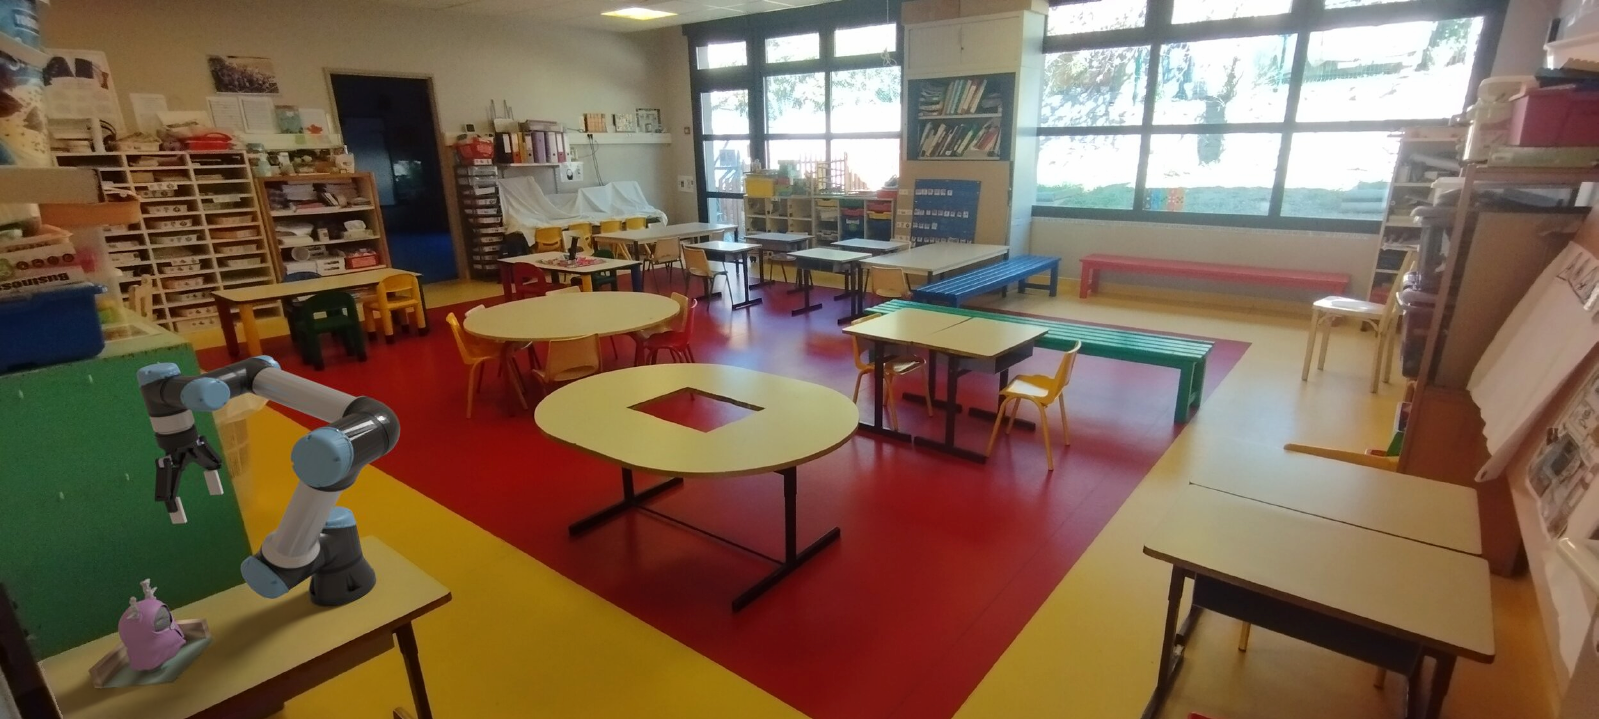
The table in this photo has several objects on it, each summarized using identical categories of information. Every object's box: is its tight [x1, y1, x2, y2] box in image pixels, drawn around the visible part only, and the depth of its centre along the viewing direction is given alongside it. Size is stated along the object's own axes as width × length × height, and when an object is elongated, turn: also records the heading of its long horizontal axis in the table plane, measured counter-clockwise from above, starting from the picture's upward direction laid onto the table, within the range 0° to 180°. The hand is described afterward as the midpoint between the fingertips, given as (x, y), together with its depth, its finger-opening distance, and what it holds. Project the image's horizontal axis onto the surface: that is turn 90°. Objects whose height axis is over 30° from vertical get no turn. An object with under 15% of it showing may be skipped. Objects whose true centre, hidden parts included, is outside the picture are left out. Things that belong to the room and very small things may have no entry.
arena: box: [88, 617, 214, 689], centre depth 167 cm, size 16×16×5 cm
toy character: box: [117, 578, 186, 673], centre depth 163 cm, size 12×10×20 cm
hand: (199, 507), depth 177 cm, fingers open, 13 cm apart
